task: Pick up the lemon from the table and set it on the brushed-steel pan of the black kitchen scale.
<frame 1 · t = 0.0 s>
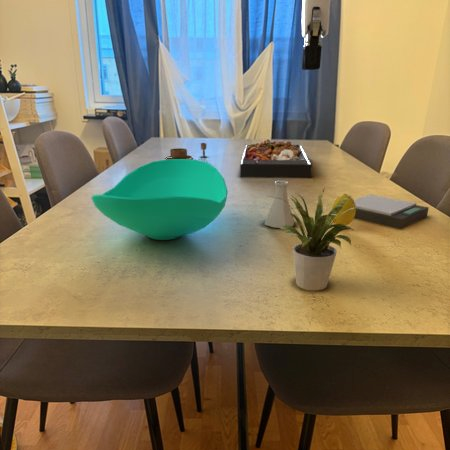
hand: (310, 69, 92), 33 cm above the table, tool pointing down, fingers open, 9 cm apart
scale: (379, 215, 110), on the table
house plant: (304, 285, 74), on the table
food platter: (274, 166, 171), on the table
lemon: (340, 228, 101), on the table
table top decor: (166, 235, 98), on the table
flask: (279, 225, 104), on the table
place setting: (188, 161, 182), on the table
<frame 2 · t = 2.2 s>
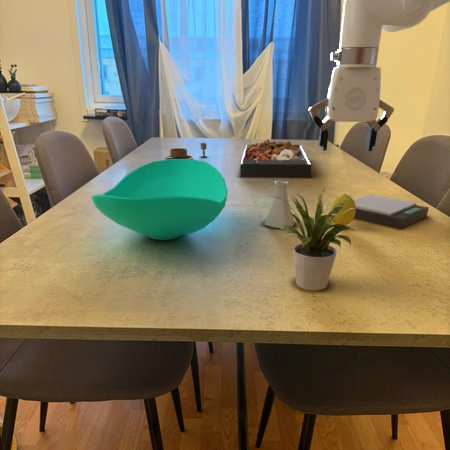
hand: (345, 150, 93), 17 cm above the table, tool pointing down, fingers open, 9 cm apart
nothing on the table moved.
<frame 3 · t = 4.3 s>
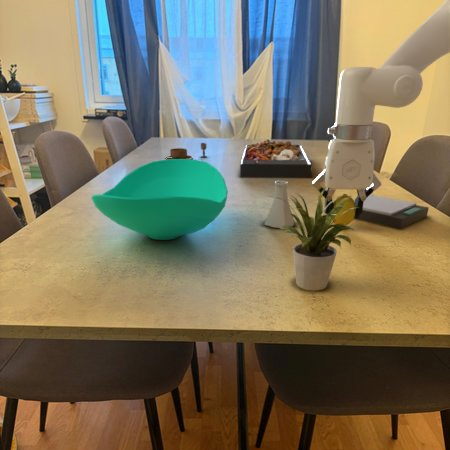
hand: (342, 215, 99), 3 cm above the table, tool pointing down, fingers closed on lemon, 5 cm apart
lemon: (340, 228, 101), on the table, touching gripper
everything else where it was.
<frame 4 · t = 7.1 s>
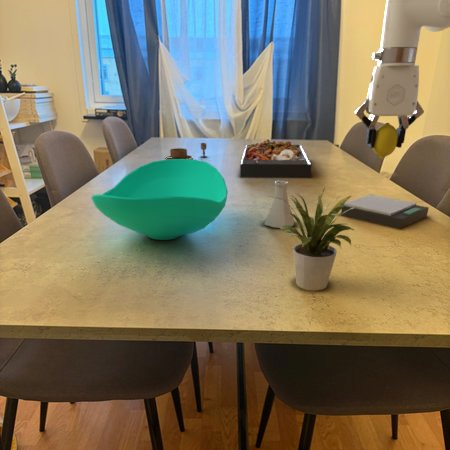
hand: (384, 146, 101), 17 cm above the table, tool pointing down, fingers closed on lemon, 5 cm apart
lemon: (382, 159, 102), point 14 cm above the table, touching gripper
everything else where it was.
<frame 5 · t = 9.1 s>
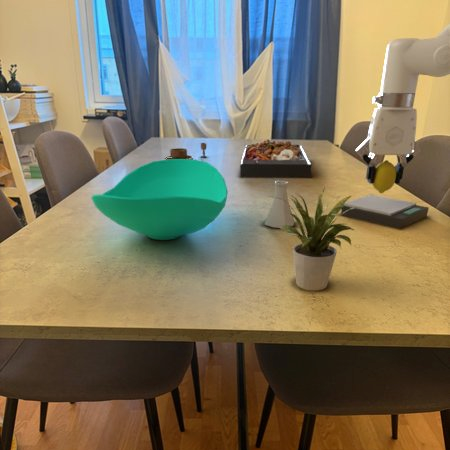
hand: (383, 181, 106), 8 cm above the table, tool pointing down, fingers closed on lemon, 5 cm apart
lemon: (381, 194, 108), point 5 cm above the table, touching gripper
everything else where it was.
when the fingers open (6 cm above the table, at t = 10.2 s): lemon stays where it is, resting on scale.
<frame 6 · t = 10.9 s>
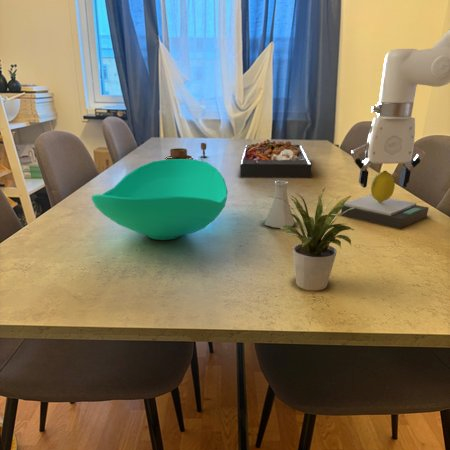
hand: (382, 186, 107), 7 cm above the table, tool pointing down, fingers open, 9 cm apart
lemon: (379, 203, 109), point 3 cm above the table, touching scale
everything else where it was.
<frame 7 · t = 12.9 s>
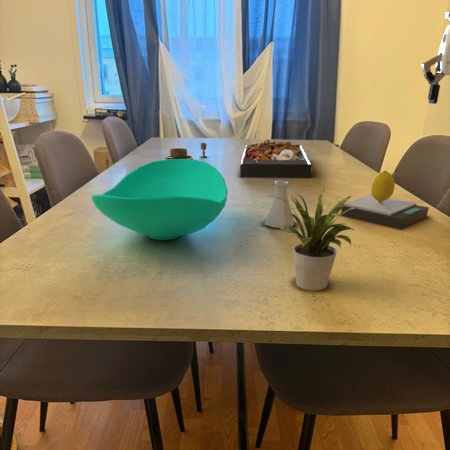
nothing on the table moved.
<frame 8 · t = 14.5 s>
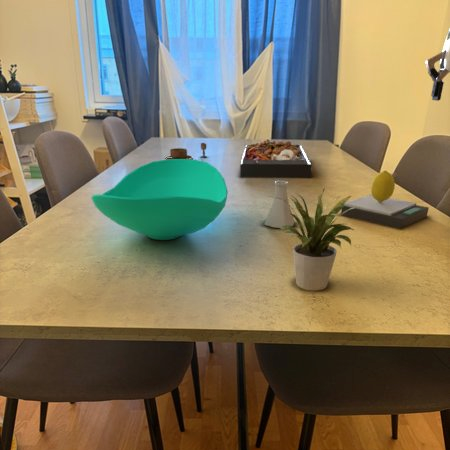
nothing on the table moved.
at the end: lemon inside the target area on the scale (0.0 cm from its centre), point 2.8 cm above the scale's base; the gripper is holding nothing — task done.
